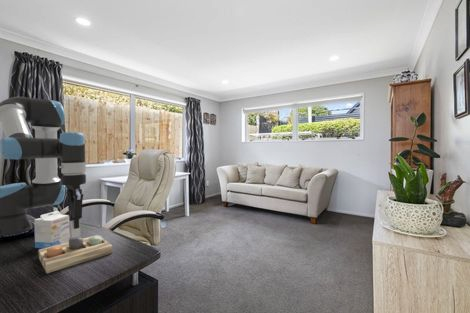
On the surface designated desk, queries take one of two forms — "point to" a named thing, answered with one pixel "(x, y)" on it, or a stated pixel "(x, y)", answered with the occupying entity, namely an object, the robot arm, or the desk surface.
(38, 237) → the ink box
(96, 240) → the sage button
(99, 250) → the panel
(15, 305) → the desk surface
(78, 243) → the charcoal button
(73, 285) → the desk surface
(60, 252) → the orange button
